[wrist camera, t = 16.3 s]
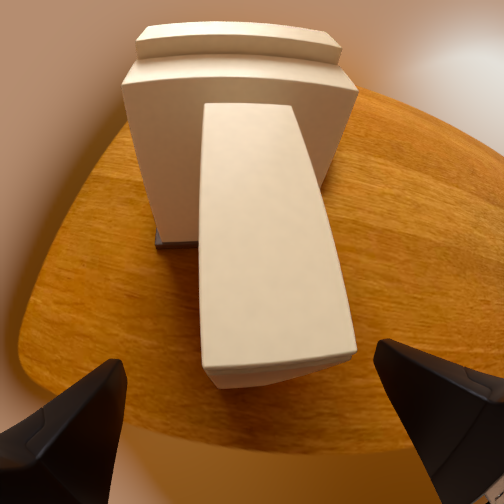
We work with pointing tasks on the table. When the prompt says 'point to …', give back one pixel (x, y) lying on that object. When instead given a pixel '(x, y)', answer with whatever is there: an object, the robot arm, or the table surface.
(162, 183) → the cream books
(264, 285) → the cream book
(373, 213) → the table surface
